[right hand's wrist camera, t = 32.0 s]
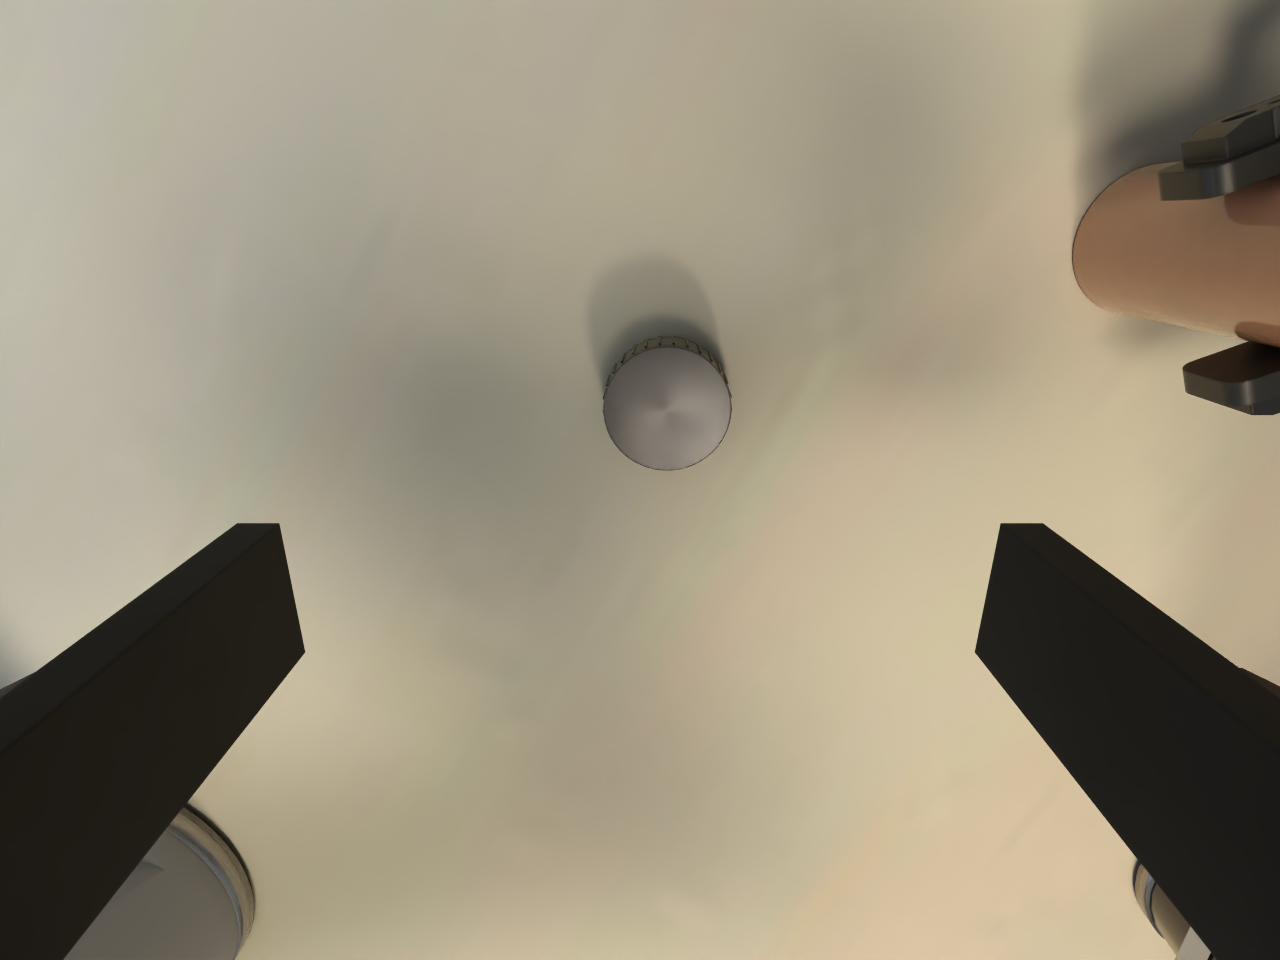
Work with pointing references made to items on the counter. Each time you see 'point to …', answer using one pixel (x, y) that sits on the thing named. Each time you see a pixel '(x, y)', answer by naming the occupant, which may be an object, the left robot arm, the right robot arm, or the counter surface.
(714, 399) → the cap
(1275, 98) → the left robot arm
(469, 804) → the counter surface
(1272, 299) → the bottle
